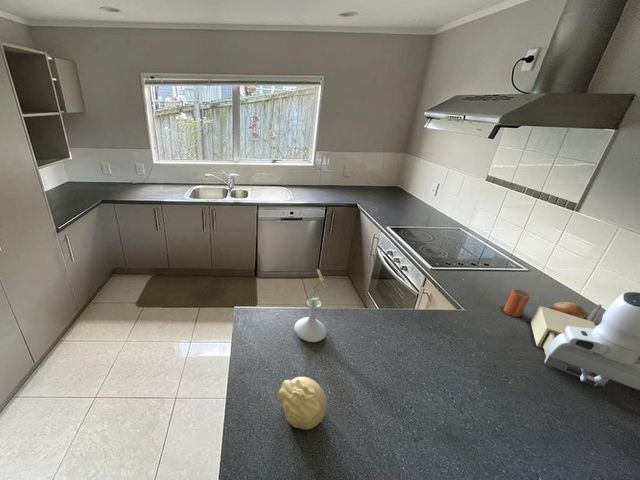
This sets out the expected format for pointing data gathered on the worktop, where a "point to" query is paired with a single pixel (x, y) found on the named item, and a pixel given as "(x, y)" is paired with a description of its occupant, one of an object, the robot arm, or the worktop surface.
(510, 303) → the cup
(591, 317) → the screw
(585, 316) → the bread roll
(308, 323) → the flower in vase
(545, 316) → the box
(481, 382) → the worktop surface
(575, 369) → the drawer
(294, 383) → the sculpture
